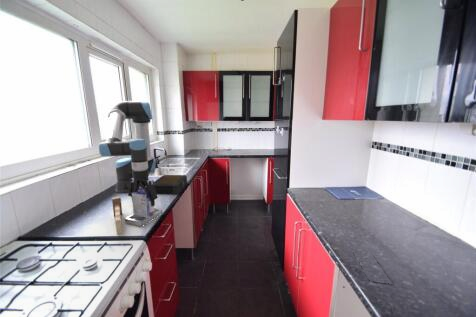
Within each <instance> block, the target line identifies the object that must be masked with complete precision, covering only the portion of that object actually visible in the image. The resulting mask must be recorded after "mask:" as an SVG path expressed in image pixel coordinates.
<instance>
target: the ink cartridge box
mask: <svg viewBox="0 0 476 317" xmlns="http://www.w3.org/2000/svg"><path fill="white" fill-rule="evenodd" d="M149 200H150V199H149V197H148V194H147V193H146V191H145V190H144V189H143V188H142V187H140V189H139V190H138V191H136V192H133V193H132V197H131V202H133V203H132V214H135V215H140V216H144V217H148V216H150V215H152V214H154V213H155V212H154V211H153V212H151V213H150V210H149Z"/></svg>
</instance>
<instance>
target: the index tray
mask: <svg viewBox="0 0 476 317" xmlns="http://www.w3.org/2000/svg"><path fill="white" fill-rule="evenodd" d="M154 212H155V213H154V214H152V215H150V216H148V217H144V216H140V215H135V214H133V213H132V214H130V215H128V216H127V217H125V218H124V223H125V224H126V225H131V224H132V226H136V225H137V226H136V227H141V226H143V225H145V224H146V223H148V222H149V221H151V220H152V219H154V218H155V219H157V218H158V217H160V216H161V215H163V214H162V213H163V209H162V208H156V207H154ZM160 214H161V215H160ZM159 215H160V216H159ZM157 216H158V217H157ZM156 217H157V218H156ZM155 219H154V220H155ZM152 221H153V220H152ZM152 221H151V222H152ZM149 223H150V222H149ZM149 223H148V224H149ZM146 225H147V224H146ZM146 225H145V226H146ZM143 227H144V226H143Z"/></svg>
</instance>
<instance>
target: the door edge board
mask: <svg viewBox="0 0 476 317" xmlns="http://www.w3.org/2000/svg"><path fill="white" fill-rule="evenodd" d="M111 201H112V203H111V204H112V209H113V211H112V212H113V217H114V218H115V221H114V222H115V228H116V235H117V234H118V235H122V234H123V230H122V229H123V228H121V227H122V219H121V218H122V217H121V216H123V208H122V207H123V206H122V197H121V196H114V197H112V198H111ZM121 233H122V234H121Z"/></svg>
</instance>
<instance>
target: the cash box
mask: <svg viewBox="0 0 476 317" xmlns="http://www.w3.org/2000/svg"><path fill="white" fill-rule="evenodd" d="M187 185H188V176H187V175H185V174H163V175H162V176H160V177H159V178H158V179H156V180H155V181H154V186H155V190H156V193H157V195H170V196H171V195H179V194H180V193H181V192H182V191H183V190H184V188H185V187H186V186H187Z"/></svg>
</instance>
